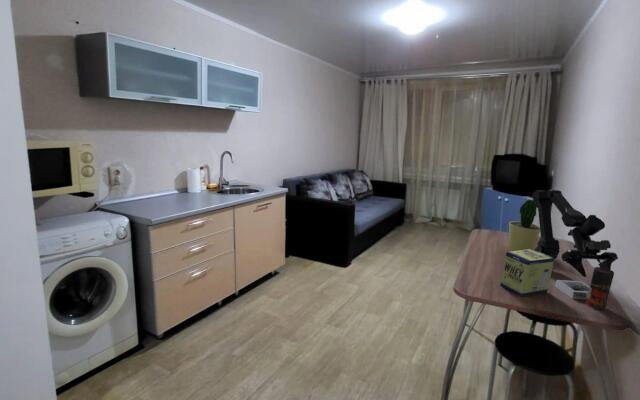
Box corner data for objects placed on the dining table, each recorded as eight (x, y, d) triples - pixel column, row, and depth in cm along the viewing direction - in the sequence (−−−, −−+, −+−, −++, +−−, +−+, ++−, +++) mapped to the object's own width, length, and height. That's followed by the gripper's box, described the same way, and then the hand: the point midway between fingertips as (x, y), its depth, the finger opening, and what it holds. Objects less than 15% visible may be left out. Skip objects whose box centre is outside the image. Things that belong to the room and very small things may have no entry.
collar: (555, 286, 150) (556, 279, 149) (580, 287, 150) (581, 281, 149) (572, 298, 139) (573, 291, 139) (599, 300, 139) (600, 293, 138)
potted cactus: (509, 243, 204) (518, 194, 197) (539, 251, 193) (549, 199, 187) (500, 249, 193) (510, 197, 186) (531, 257, 182) (542, 202, 176)
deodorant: (581, 302, 137) (590, 266, 133) (595, 302, 137) (604, 267, 134) (594, 310, 131) (603, 273, 128) (609, 310, 131) (618, 273, 128)
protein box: (499, 285, 148) (505, 251, 144) (525, 281, 153) (532, 248, 150) (521, 297, 138) (528, 261, 135) (548, 292, 144) (555, 257, 140)
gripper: (572, 230, 136) (586, 267, 127) (620, 233, 136) (637, 271, 127) (555, 242, 145) (567, 278, 137) (600, 245, 145) (615, 281, 136)
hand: (596, 277), depth 134 cm, fingers open, 9 cm apart
